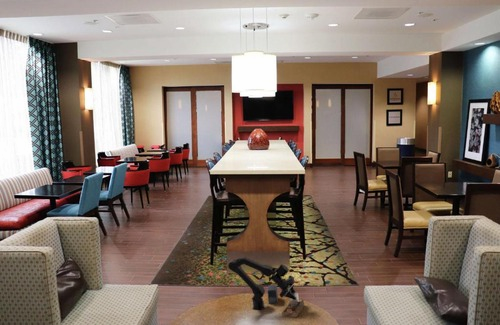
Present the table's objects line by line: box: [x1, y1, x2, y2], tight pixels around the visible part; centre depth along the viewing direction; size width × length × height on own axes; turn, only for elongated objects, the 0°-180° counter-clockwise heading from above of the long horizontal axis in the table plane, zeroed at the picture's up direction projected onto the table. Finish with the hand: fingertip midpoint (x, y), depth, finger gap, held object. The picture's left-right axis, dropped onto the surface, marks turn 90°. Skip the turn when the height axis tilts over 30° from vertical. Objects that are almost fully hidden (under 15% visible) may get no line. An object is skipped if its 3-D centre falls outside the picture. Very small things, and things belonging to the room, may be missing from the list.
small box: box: [267, 284, 279, 305], centre depth 315 cm, size 11×6×10 cm, turn 174°
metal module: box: [289, 292, 300, 307], centre depth 298 cm, size 4×4×9 cm
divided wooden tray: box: [281, 299, 305, 318], centre depth 294 cm, size 10×19×5 cm, turn 159°
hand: (296, 297), depth 298 cm, fingers closed on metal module, 4 cm apart
